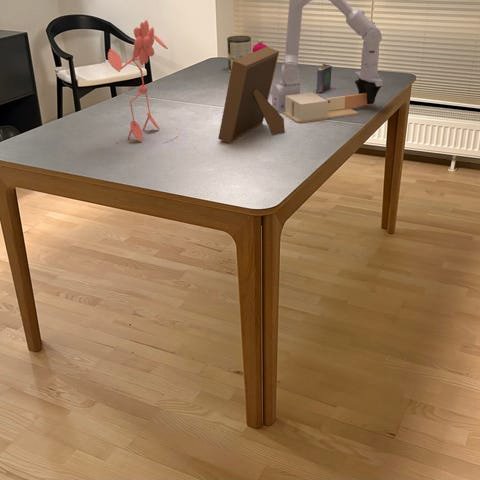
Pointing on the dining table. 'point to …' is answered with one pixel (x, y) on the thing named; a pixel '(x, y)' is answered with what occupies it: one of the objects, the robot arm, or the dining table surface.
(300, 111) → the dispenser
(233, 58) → the coffee can
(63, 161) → the dining table surface
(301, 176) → the dining table surface
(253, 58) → the photo frame
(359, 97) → the long copper stick
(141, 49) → the pink stick figure
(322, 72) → the flask
